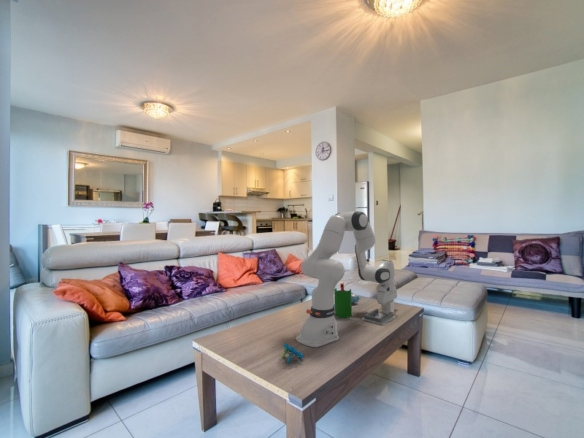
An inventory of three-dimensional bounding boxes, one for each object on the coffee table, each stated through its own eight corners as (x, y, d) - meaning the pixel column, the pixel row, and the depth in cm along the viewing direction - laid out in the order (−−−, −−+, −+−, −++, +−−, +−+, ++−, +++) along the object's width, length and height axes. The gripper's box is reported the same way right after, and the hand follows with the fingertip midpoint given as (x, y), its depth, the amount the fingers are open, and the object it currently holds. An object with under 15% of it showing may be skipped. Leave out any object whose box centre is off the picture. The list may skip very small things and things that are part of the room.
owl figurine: (351, 285, 208) (368, 289, 197) (351, 296, 208) (368, 301, 197) (326, 292, 190) (344, 297, 178) (326, 305, 190) (344, 310, 178)
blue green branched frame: (309, 357, 114) (293, 344, 111) (302, 371, 111) (286, 359, 108) (294, 351, 123) (279, 339, 120) (287, 364, 120) (272, 352, 117)
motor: (351, 313, 172) (350, 280, 172) (352, 318, 163) (351, 284, 163) (334, 312, 173) (333, 280, 173) (335, 317, 164) (334, 284, 164)
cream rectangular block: (390, 314, 167) (390, 303, 167) (380, 312, 172) (380, 301, 172) (394, 312, 171) (394, 301, 171) (384, 310, 175) (384, 299, 175)
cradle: (383, 325, 150) (383, 320, 150) (362, 319, 159) (362, 314, 159) (395, 318, 161) (395, 313, 161) (374, 313, 170) (374, 308, 170)
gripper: (389, 282, 181) (390, 303, 181) (374, 288, 166) (375, 311, 166) (399, 283, 176) (399, 305, 176) (384, 290, 162) (385, 313, 161)
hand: (387, 308), depth 171 cm, fingers open, 8 cm apart
